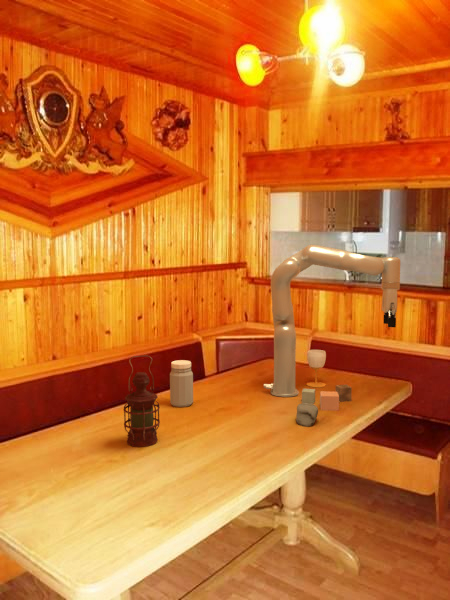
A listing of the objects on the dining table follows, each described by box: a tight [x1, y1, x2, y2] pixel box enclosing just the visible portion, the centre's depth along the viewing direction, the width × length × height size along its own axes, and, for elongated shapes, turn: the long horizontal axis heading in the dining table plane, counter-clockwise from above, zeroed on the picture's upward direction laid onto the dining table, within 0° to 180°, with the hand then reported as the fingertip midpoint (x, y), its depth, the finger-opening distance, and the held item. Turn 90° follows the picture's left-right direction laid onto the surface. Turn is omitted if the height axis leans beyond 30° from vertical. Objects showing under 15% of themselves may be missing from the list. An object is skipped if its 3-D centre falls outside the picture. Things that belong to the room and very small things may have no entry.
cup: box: [306, 349, 327, 388], centre depth 265 cm, size 9×9×16 cm
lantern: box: [123, 354, 161, 448], centre depth 191 cm, size 12×12×30 cm
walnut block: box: [335, 384, 352, 403], centre depth 241 cm, size 5×5×6 cm
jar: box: [169, 359, 194, 408], centre depth 235 cm, size 10×10×18 cm
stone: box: [295, 402, 319, 428], centre depth 213 cm, size 9×9×10 cm
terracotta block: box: [319, 390, 340, 412], centre depth 230 cm, size 7×7×6 cm
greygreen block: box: [301, 388, 316, 405], centre depth 238 cm, size 5×5×5 cm
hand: (389, 325), depth 244 cm, fingers open, 9 cm apart
